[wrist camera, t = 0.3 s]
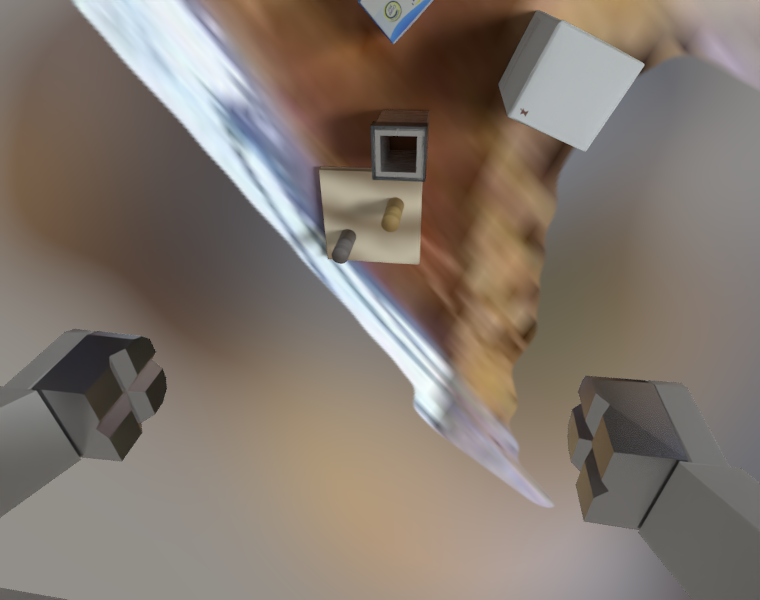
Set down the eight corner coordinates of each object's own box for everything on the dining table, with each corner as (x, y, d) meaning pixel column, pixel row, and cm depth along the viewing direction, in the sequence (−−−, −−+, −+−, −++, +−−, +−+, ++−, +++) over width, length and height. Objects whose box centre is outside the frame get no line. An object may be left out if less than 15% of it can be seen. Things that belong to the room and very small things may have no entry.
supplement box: (559, 116, 48) (584, 156, 38) (495, 84, 47) (503, 117, 37) (606, 41, 44) (649, 64, 33) (537, 5, 43) (559, 18, 33)
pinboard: (321, 166, 55) (307, 186, 50) (422, 169, 53) (418, 190, 48) (329, 254, 62) (318, 279, 57) (419, 259, 60) (415, 286, 55)
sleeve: (381, 107, 50) (370, 125, 44) (431, 108, 49) (426, 126, 44) (382, 157, 53) (372, 179, 48) (429, 158, 53) (424, 181, 47)
